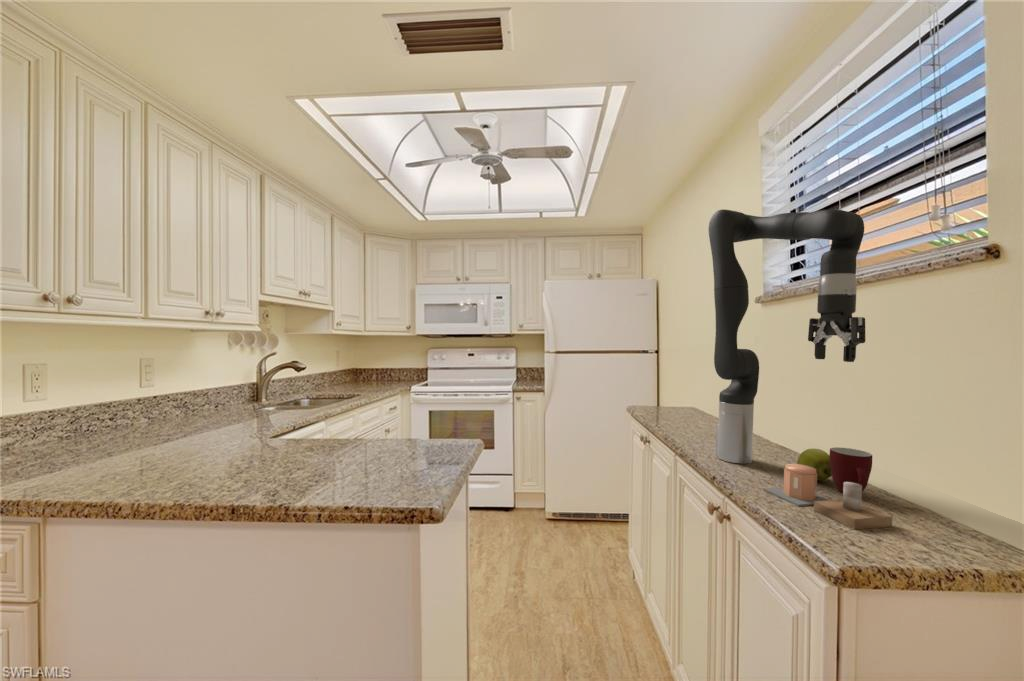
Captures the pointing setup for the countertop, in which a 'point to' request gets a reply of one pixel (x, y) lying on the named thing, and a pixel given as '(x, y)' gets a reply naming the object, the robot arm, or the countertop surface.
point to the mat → (796, 501)
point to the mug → (850, 466)
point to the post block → (853, 510)
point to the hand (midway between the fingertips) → (833, 360)
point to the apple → (816, 462)
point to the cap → (800, 481)
